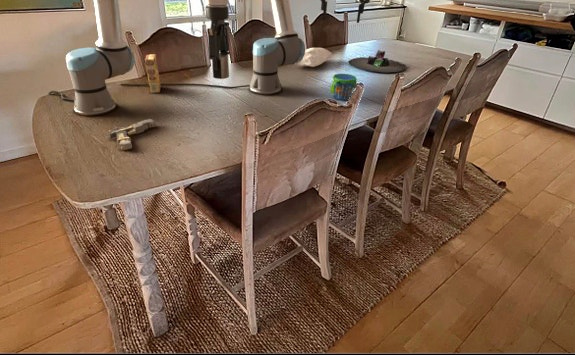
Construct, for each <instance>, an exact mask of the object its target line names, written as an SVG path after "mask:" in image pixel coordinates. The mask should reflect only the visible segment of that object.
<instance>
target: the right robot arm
mask: <svg viewBox="0 0 575 355" xmlns="http://www.w3.org/2000/svg"><path fill="white" fill-rule="evenodd" d="M269 1H270V6H271V13H272V19H273V23H274V28H275V36H274V37H264V38H259V39H257V40H255V41H254V43H253V44H252V69H253V70H252V77H251V81H250V83H249V84H244V85H235V86H228V85H227V86H226V85H218V84H205V83H190V82H189V83H187V82H185V83H183V82H178V83H176V82H175V83H174V82H171V83H168V82H167V83H165V82H164V83H160V85H161V86H203V87H214V88H222V89H238V88H239V89H240V88H248V87H249V91H250V92H251V93H253V94H255V95H261V96H271V95H277V94H279V93H281V92H282V83H281V81H280V78H279V67H285V66H290V65H296V64H295V63H298V62H300V61H301V60H302V59H303V57H304V54H305V50H306V44H305V42H304V41H303V39H302V38H301V37H299V33H298V32H297V31H296V30H295V29H294V23H293V17H292V11H291V5H290V0H269ZM358 1H359V4H358V7H357V8H358V9H357V15H356V23H357V24H360V20H361V15H363V13H364V11H365V5H367V4H369V3H370V2H371V0H358ZM320 2H321V4H320V5H321V7H320V10H321V11H322V20H323V21H325V20H327V10H328V0H320ZM120 86H135V87H136V86H139V87H141V86H142V87H143V86H150V85H149V83H120Z"/></svg>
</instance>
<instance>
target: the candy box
mask: <svg viewBox="0 0 575 355" xmlns="http://www.w3.org/2000/svg"><path fill="white" fill-rule="evenodd" d="M157 62H158V61H157V55H156V54H146V56H145V59H144V63H145V68H146V73H147V79H148V84H149V85H148V86H149V90H150V93H151V94H152V93H153V94H154V93H160V92H161V87H162V85H160V84H161V79H160V73H159V66H158V63H157Z"/></svg>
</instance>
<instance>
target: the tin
mask: <svg viewBox="0 0 575 355" xmlns="http://www.w3.org/2000/svg"><path fill="white" fill-rule="evenodd" d="M219 59H220V60H221V75H222V78H221V79H219V78H215V79H217V80H224V79H225V80H226V79H228V78H230V66H229V65H230V64H229V55H228V54H224V53H220V56H219ZM211 68H212V69H213V60H211ZM212 77H213V78H214V74H213V73H212Z"/></svg>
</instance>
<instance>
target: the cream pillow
mask: <svg viewBox="0 0 575 355" xmlns="http://www.w3.org/2000/svg"><path fill="white" fill-rule="evenodd" d="M332 53H333V52H331V51H329V50H328V49H326V48H323V47H310V48H307V49H305V54H304V57H303V59H302V60H301V61H300V62H298V63H295V64H294V65H298V66H301V67H310V68H315V67H317V66H320V65H322V64H323V63H325V62H326V61H327V60H328V59H330V58H331V57H332V56H333V54H332Z"/></svg>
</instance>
